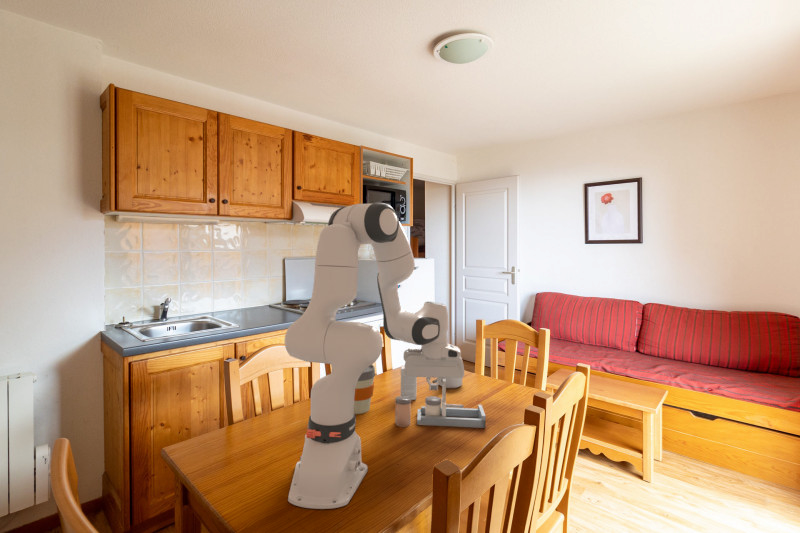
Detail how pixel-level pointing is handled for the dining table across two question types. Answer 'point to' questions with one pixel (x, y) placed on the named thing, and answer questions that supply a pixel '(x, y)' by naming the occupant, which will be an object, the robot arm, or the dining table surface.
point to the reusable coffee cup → (364, 390)
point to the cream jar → (432, 406)
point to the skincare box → (408, 385)
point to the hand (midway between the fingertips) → (433, 389)
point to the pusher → (444, 405)
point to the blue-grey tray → (454, 418)
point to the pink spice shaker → (402, 411)
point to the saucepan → (450, 382)
